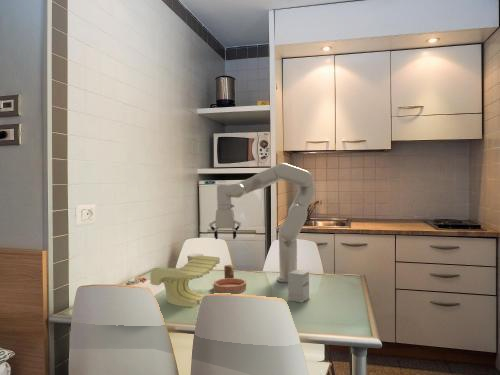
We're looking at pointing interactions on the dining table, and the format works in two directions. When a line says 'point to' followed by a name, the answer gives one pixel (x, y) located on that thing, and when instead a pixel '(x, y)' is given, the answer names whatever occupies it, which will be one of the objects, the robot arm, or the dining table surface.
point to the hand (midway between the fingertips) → (225, 238)
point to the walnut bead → (229, 271)
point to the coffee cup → (193, 256)
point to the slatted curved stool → (183, 280)
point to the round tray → (230, 285)
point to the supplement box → (298, 286)
